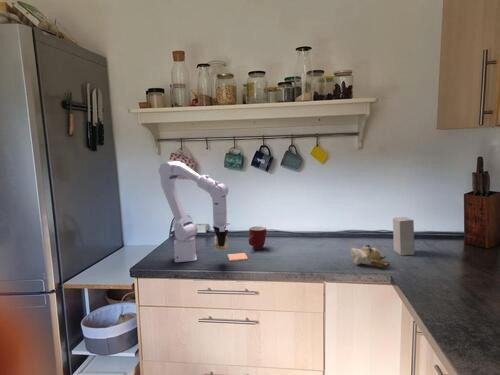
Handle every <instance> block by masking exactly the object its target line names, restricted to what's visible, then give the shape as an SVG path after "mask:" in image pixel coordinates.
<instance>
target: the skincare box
mask: <svg viewBox="0 0 500 375" xmlns="http://www.w3.org/2000/svg"><path fill="white" fill-rule="evenodd" d="M414 224H415V223H414V219H411V218H410V217H406V216H404V217H403V216H402V217H392V233H393V251H394V252H396V253H397V254H398V255H400V256H407V255H408V256H414V255H415V232H414V230H415V228H414V227H415V225H414Z"/></svg>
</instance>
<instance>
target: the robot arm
mask: <svg viewBox="0 0 500 375" xmlns="http://www.w3.org/2000/svg"><path fill="white" fill-rule="evenodd" d="M158 174H159V177H160V185H161V188H162V190H163V193H164V195H165V198H166V201H167V203H168V205H169V208H170V211H171V213H172V215H173V219H174V220H175V221H174V224H173V225H172V227H173V229H174V237H175V239H174V240H173V251H174V252H173V257H174V263H181V262H182V263H183V262H193V261H194V262H195V261H197V260H198V259H197V253H196V235H197V234H198V230H199V229H198V227H197V225H196V223H195V222H194V220H193V219H192V218H191V217H189V216H188V215H187V212H186V210H185V207H184V205H183V203H182V202H183V201H182V200H181V197H180V195H179V192H178V189H177V187H176V181H177V179H178V178H179V177H180V176H184V177H185V178H187V179H189V180H192V181H194V182H195V183H196V184H197V188H200V189H201V190H203V191H204V192H206V193H207V194H209V195H210V196H209V197H210V198H211V201H212V218H213V219H212V229H213V231H214V234H215V235H217V239H218V244H219V247H220V246H224V244H225V239H226V236H228V232H229V230H228V229H227V226H228V225H231V224H230V223H231V222H230V221H228V217H227V215H228V214H227V212H228V211H227V196H228V194H229V187H228V186H227V185H226V183H224V182H222V183H219V181H217V180H214V179H212V178H211V176H210V175H209V174H202V175H200V174H199V173H197V172H196V171H194V170H193V169H192V168H191V167H189V166H187V165H186V164H185V163H184V162H181V161H180V160H174V161H163V162H162V163H161V164H160V165H159V167H158Z"/></svg>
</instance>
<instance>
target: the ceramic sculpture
mask: <svg viewBox="0 0 500 375" xmlns="http://www.w3.org/2000/svg"><path fill="white" fill-rule="evenodd" d="M350 254H351V258H352V261H353V263H354V264H355V265H357V266H359V265H360V264H363V265H366V266H370V265H371V266H376V267H377V268H378V267H379V268H381V267H387V266H390V265H391V264H390V263H388V262H385V261H384V260H385V259H386V258H387V256H384V255H383V256H382V255H381V252H380V251H379V250H378V248H375V247H371V246H370V244H367V245H364V246H362V248H356V247H353V246H351V247H350Z"/></svg>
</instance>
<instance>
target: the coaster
mask: <svg viewBox="0 0 500 375" xmlns="http://www.w3.org/2000/svg"><path fill="white" fill-rule="evenodd" d="M227 258H228V260H229V262H235V261H236V262H238V261H239V262H240V261H248V260H249V258H248V256H247V254H246V253H245V252H241V253H240V252H239V253H238V252H237V253H229V254H227Z"/></svg>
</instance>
